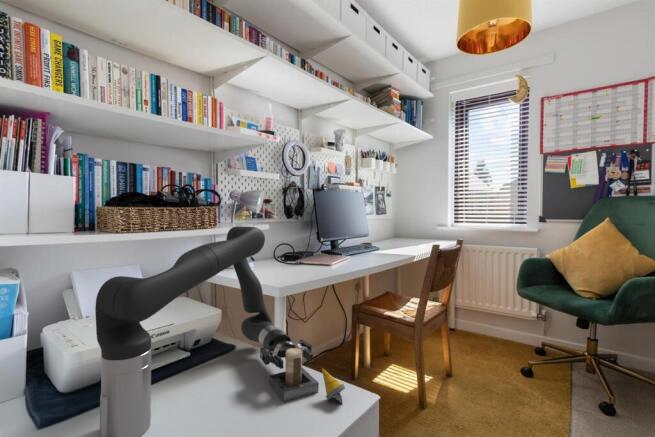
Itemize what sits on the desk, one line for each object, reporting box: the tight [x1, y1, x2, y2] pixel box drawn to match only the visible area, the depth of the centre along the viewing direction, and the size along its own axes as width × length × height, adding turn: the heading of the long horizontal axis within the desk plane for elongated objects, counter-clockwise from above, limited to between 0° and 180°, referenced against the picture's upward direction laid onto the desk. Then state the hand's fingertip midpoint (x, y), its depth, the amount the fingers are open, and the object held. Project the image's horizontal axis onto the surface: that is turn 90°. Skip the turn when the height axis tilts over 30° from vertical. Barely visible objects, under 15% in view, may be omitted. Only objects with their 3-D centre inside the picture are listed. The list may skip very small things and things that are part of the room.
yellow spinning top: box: [321, 367, 346, 405], centre depth 85 cm, size 5×5×10 cm
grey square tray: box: [269, 367, 320, 403], centre depth 90 cm, size 10×10×3 cm
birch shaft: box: [284, 348, 303, 388], centre depth 90 cm, size 4×4×10 cm
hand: (297, 361), depth 88 cm, fingers open, 8 cm apart
